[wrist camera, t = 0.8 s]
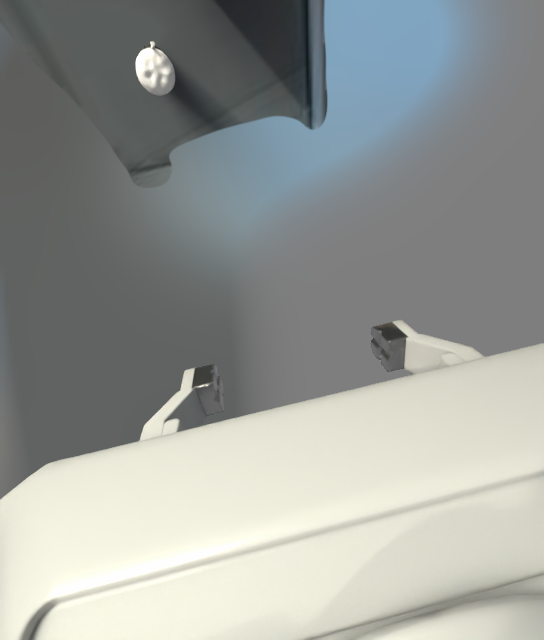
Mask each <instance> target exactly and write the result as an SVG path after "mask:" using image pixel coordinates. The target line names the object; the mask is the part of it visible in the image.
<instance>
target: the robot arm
mask: <svg viewBox="0 0 544 640" xmlns="http://www.w3.org/2000/svg"><path fill="white" fill-rule="evenodd" d="M371 335H372V336H373V337H374V338H373V339H372V341H371V348H372V351H373V354H374V355H375V357H376V358H377V359H379V360H381V364H382V366H383V367H384V368H385V369H386V371H387V372H389V371H394V370H399V369H403V368H404V369H405V370H407V371H409V372H411V373H413V374H414V375H410V376H406V377H402V378H398V379H394V380H390V381H385V382H382V383H378V384H373V385H369V386H365V387H361V388H357V389H353V390H348V391H344V392H340V393H336V394H332V395H328V396H324V397H320V398H316V399H311V400H307V401H303V402H300V403H295V404H291V405H287V406H283V407H278V408H275V409H270V410H266V411H262V412H258V413H254V414H250V415H246V416H241V417H238V418H233V419H229V420H225V421H221V422H217V423H213V424H208V425H204V426H201V425H202V423H203V422H204V420H205V419H206V416H209V415H213V414H216V413H220V412H223V399H222V396H223V385H222V381H221V378H220V377H219V376H218V369H217V367H216V365H215V364H211V365H207V366H202V367H197V368H192V369H188V370H186V371H185V372H184V376H183V381H182V386H181V391H180V392H177V393H176V394H175V395H174V396H173V397H172V398H171V399H170V400H169V401H168V402H167V403H166V404H165V405H164V406H163V407H162V408H161V409H160V410H159V411H158V412H157V414H155V415H154V416H153V417H152V418H151V419H150V420H149V421H148V422H147V423H146V424H145V425H144V428H143V432H142V435H141V438H140V441H138V442H134V443H130V444H126V445H122V446H118V447H114V448H110V449H106V450H101V451H98V452H93V453H89V454H85V455H81V456H77V457H72V458H68V459H63V460H59V461H56V462H52V463H49V464H47V465H45V466H43V467H42V468H41V469H39V470H38V471H36V472H35V473H34V474H32V475H31V476H29V477H28V478H27V479H25V480H24V481H23V482H22V483H20V484H19V485H18V486H17V487H16V488H14V489H13V490H12V491H10V492H9V493H8V494H7V495H5V496H4V497H3V498H2V499H1V500H0V640H544V343H542V344H538V345H534V346H529V347H526V348H521V349H517V350H513V351H509V352H505V353H501V354H497V355H493V356H488V357H484V356H483V355H481V354H480V353H479V352H477V351H476V350H475V349H473V348H472V347H469V346H466V345H462V344H458V343H454V342H450V341H446V340H442V339H439V338H435V337H431V336H427V335H423V334H420V335H419V334H418V333H416V332H415V331H414V330H413V329H412V328H410V327H409V326H408V325H407V324H406V323H405V322H403V321H402V320H397V321H393V322H390V323H387V324H383V325H379V326H375V327H372V328H371Z"/></svg>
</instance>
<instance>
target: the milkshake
mask: <svg viewBox="0 0 544 640" xmlns="http://www.w3.org/2000/svg"><path fill="white" fill-rule="evenodd" d="M150 43H151V44H150V45H146V46H144V48H143V50H142V51H141V52H140V53H139V55H138V56H137V59H136V73H137V76H138V79H139V81H140V83H141V84H142V86H143V87H144V88H145V89H147V90H148V91H149V92H150V93H152V94H155V95H165V94H167V93H169V92H170V91H171V90H172V89H173V87H174V84H175V71H174V68H173V65H172V63H171V61H170V60H169V58H168V57H167V56H166V55H165V54H164V53H163V52H162V51H161V50H160V48H158V47H156V46H155V42H154V41H150Z"/></svg>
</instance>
